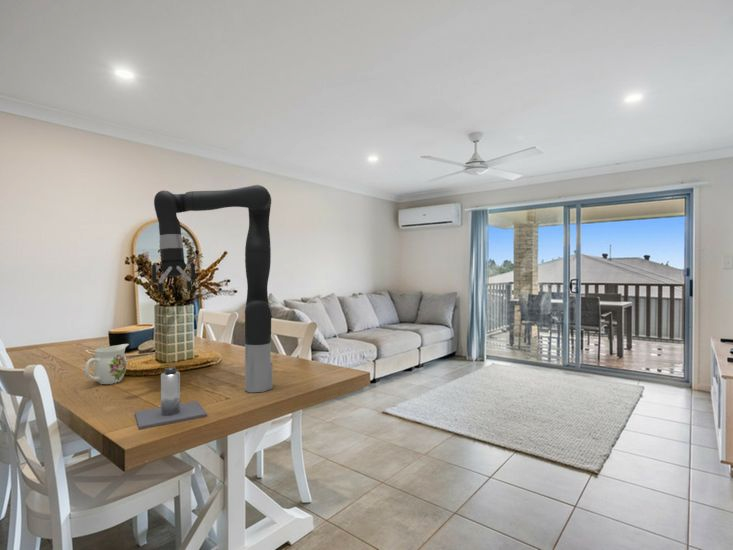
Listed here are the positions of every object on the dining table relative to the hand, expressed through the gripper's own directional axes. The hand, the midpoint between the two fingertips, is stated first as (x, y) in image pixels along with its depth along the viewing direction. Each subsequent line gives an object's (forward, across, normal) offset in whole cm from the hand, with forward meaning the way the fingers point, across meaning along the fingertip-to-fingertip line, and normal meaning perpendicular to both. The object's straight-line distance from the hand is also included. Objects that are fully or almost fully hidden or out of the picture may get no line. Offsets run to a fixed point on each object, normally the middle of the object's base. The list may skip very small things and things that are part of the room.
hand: (175, 293), depth 143 cm
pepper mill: (+36, -7, -21) cm, 42 cm away
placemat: (+37, -7, -21) cm, 43 cm away
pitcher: (+33, -22, +30) cm, 50 cm away
